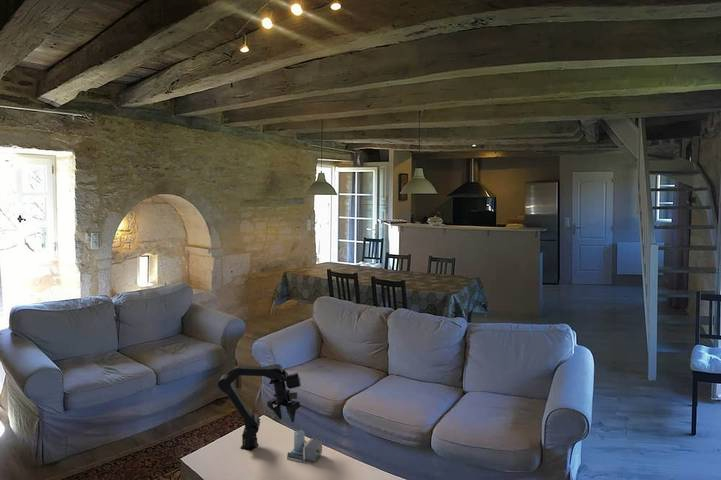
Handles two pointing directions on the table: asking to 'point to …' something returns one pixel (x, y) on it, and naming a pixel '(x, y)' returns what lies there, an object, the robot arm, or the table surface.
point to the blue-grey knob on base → (299, 442)
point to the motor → (308, 452)
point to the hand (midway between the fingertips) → (286, 420)
